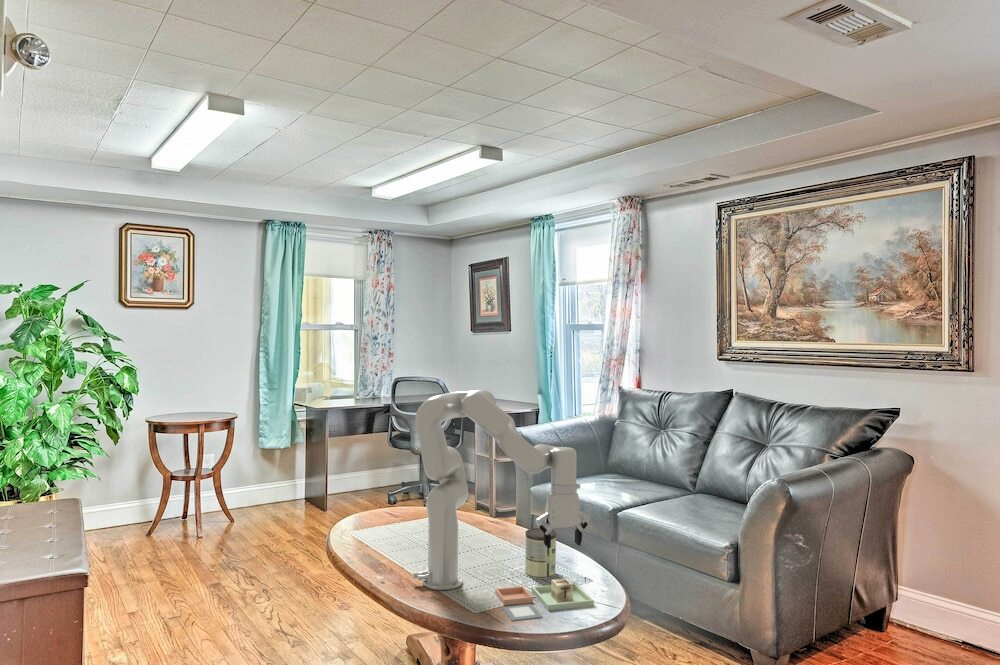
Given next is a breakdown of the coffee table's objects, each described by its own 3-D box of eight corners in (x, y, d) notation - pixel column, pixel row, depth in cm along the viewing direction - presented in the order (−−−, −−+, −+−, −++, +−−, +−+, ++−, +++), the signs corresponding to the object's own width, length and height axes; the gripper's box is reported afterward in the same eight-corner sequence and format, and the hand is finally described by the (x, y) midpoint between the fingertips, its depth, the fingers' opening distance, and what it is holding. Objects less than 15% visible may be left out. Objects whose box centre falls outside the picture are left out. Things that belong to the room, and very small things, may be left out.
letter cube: (557, 602, 207) (557, 585, 207) (551, 596, 212) (551, 579, 212) (572, 600, 209) (573, 584, 209) (566, 594, 214) (566, 578, 214)
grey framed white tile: (511, 622, 194) (511, 619, 194) (502, 609, 202) (502, 607, 202) (542, 619, 196) (542, 616, 196) (531, 606, 205) (531, 604, 205)
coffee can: (525, 568, 237) (526, 527, 237) (555, 570, 236) (556, 528, 236) (523, 579, 227) (524, 536, 227) (555, 581, 226) (556, 537, 226)
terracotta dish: (503, 606, 205) (503, 600, 205) (495, 595, 213) (495, 588, 213) (532, 603, 207) (532, 597, 207) (523, 592, 216) (523, 586, 216)
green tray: (547, 612, 202) (547, 605, 201) (531, 593, 215) (531, 586, 215) (593, 607, 206) (593, 600, 206) (574, 589, 219) (574, 582, 219)
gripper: (585, 484, 216) (584, 539, 216) (532, 487, 211) (531, 544, 211) (595, 490, 209) (594, 547, 209) (540, 493, 204) (540, 551, 204)
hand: (562, 545), depth 210 cm, fingers open, 9 cm apart
